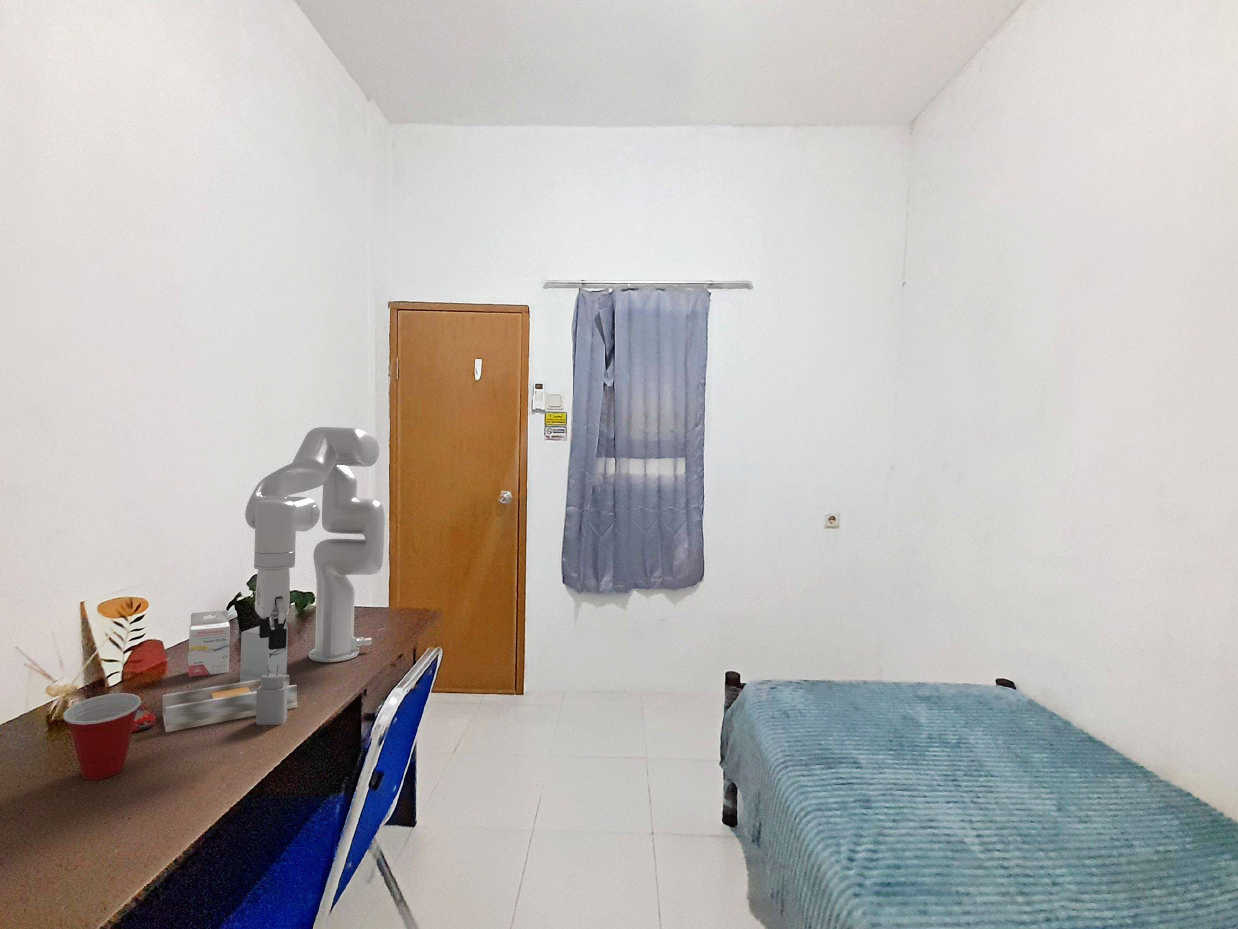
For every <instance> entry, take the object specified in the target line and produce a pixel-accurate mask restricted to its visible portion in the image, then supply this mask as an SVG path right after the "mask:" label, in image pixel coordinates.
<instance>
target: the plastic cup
mask: <svg viewBox="0 0 1238 929" xmlns="http://www.w3.org/2000/svg"><path fill="white" fill-rule="evenodd" d="M141 704H142V699H141V696H139V695H137V694H134V693H125V692H120V693H108V694H103V695H99V696H93V697H90V698H88V699H83V700H80V701H79V702H77V703H75V704H73V705H71V706H69V707H68V708H67V709H66V710H65V711H64V712H63V713H62V714H63V715H62V716H63V720H64V721H65V722H67V725H68V727H69V728H70V729H69V730H70V732H71V734H72V740H73V744H74V747H75V752H76V753H75V754H76V756H77V761H78V762H79V768H80V775H82V779H84V780H86V781H99V780H104V779H108V778H110V777H114V776H116V775H117V774H119V773H121V772H122V771H123V769H125V768H124V767H125V766H126V765H125V764H126V761H127V760H126V759H127V756H128V751H129V749H130V748H129V747H130V743H131V738H132V733H133V732H132V729H133V724H134V720H135V717H136V713H137V709H138V707H139V705H140V706H141Z"/></svg>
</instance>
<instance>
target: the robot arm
mask: <svg viewBox="0 0 1238 929" xmlns="http://www.w3.org/2000/svg"><path fill="white" fill-rule="evenodd" d="M379 455H380V447H379V442H378V440H377V438H376V437H375V436H374V435H373V434H371V433H369V432H368V431H365V430H362V429H359V428H356V427H337V426H335V427H333V426H320V427H319V426H318V427H314V428H313V429H311V430H309V431H308V432H307V434H306V435H305V437H304V439H303V441H302V443H301V445H300V446H299V448H298V451H297V453H296V454H295V455H294V459H293V460H292V462H291V463H289V464H287V465H284V466H281V467H280V468H279V469H277V470H274V471H273V472H271V473H270V474H268V475H267V476H265V477H263V478H262V479H260V481H259V482H258V484H257V485H256V486H255V487H254V490H253V491H252V494H251V495H250V496H249V497H250V498H249V500H248V501H247V505H246V507H245V514H244V515H245V521H246V523H247V525H248V526H249V528H251V529H253V530H254V551H253V552H254V553H253V554H254V556H253V558H254V559H253V561H254V562H253V568H254V569H256V570H257V574H256V584H255V585H256V587H255V597H254V598H255V599H254V600H255V601H254V602H255V603H254V610H255V613H256V614H257V615H258V616H259V625H258V626H259V637H260V638H267V637H269V641H268V648H269V650H274V649H282V648H286V642H287V643H288V637H287V627H288V624H287V618H286V617H287V616H288V615H289V613H290V599H291V596H290V593H291V592H290V591H291V589H290V588H291V587H290V586H291V584H290V583H291V582H290V579H291V577H290V573H291V572H290V569H291V568H295V567H296V534H297V532H307V531H310V530H312V529H313V528H314V527H316V525H317V523H318V522H319V520H320V515H321V525H322V528H323V530H324V531H325V532H327V533H331V534H339V535H340V534H343V535H363V537H364V539H361V538H358V539H357V538H328V539H323V540H322V541H320V542H318V543H317V544H316V545H315V547H314V549H313V565H314V572H315V581H316V598H315V603H316V604H315V636H314V637H315V638H314V639H315V641H314V643H315V644H314V648H313V649H311V650H310V651H308V658H309V660H311V661H313V662H317V663H318V662H320V663H336V662H337V663H338V662H344V661H348V660H352V659H354V658H356V657H358V655H359V654H360V647H362V646H370V645H372V642H373V641H372V637H364V636H360V637H356V636H355V635H354V631H355V630H354V627H355V596H356V595H355V594H356V593H355V588H354V585H353V583H352V582H351V580H350V579H349V578H348V576H349V575H351V576H352V575H353V576H357V575H358V576H369V575H370V576H372V575H375V574H376V575H377V574H378V573H379V572H380V571H381V570H382V567H383V561H384V551H385V550H384V545H385V544H384V543H385V519H386V518H385V510H384V506H383V504H382V503H381V502H380V501H378V500H377V499H372V498H371V499H370V498H358V496H357V490H358V488H357V486H358V481H357V478H356V475H355V474H354V472H353V471H352V469H351V468H350V467H361V468H363V467H365V468H367V467H371V466H374V465H375V464H376V462H377V461H378V459H379ZM321 486H322V500H321V502H322V503H321V510H320V507H319V504H318V503H317V502H316V501H315V500H314V499H312V498H310V497H306V496H292V495H296V494H299V493H304V492H307V491H311V490H313V489H316V488H319V487H321Z"/></svg>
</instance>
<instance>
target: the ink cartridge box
mask: <svg viewBox="0 0 1238 929" xmlns="http://www.w3.org/2000/svg"><path fill="white" fill-rule="evenodd" d="M208 616H215V617H210V618H204V617H208ZM188 634H189V635H188V638H189V639H188V660H187V661H188V664H187V665H188V666H187V667H188V668H187V671H188V678H191V677H193V678H194V677H200V676H201V677H202V676H210V675H219V674H226V673H229V671H230V670H229V668H230V667H229V666H230V645H231V644H230V642H231V641H230V640H231V639H230V638H231V637H230V635H231V627H230V621H229V610H227V609H223V610H210V611H209V610H208V611H201V612H199V611H198V612H191V614H190V625H189V632H188Z"/></svg>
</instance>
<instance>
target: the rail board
mask: <svg viewBox="0 0 1238 929" xmlns="http://www.w3.org/2000/svg"><path fill="white" fill-rule="evenodd" d="M284 685H288V692H287V710H290V709H291V710H292V709H295V708H298V696H297V695H298V686H297V684H292V685H290V674H286V675H284ZM260 686H261V679H258V680H251V681H245V682H240V681H239V682H234V683H228V684H221V685H216V686H208V687H203V688H196V689H191V690H185V691H178V692H172V693H167V694H162V709H161V711H162V712H161V717H162V721H163V725H164V731H165V733H170V732H174V731H180V730H181V731H182V730H187V729H190V728H196V727H197V728H198V727H201V726H207V725H211V724H217V723H222V722H228V721H233V720H238V719H243V718H247V717H253V716H256V702H257V688H259V687H260ZM244 687H248V688H249V690H250V693H244V694H238V695H232V696H226V697H221V698H215V699H211V693H214V692H220V691H226V690H232V689H238V688H244Z"/></svg>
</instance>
